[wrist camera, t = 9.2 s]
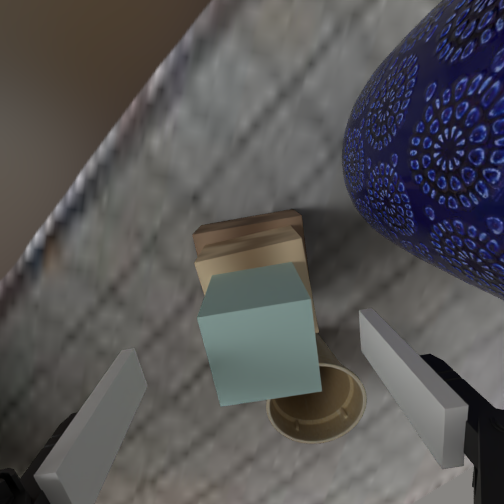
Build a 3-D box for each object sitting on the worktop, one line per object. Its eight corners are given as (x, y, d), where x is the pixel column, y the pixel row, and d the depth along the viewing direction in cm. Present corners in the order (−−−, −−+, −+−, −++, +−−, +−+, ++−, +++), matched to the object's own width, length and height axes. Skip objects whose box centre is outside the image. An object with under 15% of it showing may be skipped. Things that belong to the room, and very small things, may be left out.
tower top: (227, 320, 26) (222, 352, 21) (204, 245, 24) (194, 262, 19) (305, 303, 26) (319, 332, 21) (290, 225, 23) (301, 238, 19)
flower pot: (286, 301, 31) (300, 347, 23) (351, 334, 32) (387, 389, 24) (248, 360, 33) (248, 422, 25) (310, 389, 35) (330, 456, 26)
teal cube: (227, 343, 21) (220, 406, 15) (212, 275, 19) (196, 317, 14) (301, 331, 21) (322, 391, 15) (291, 261, 19) (310, 298, 13)
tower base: (220, 306, 31) (215, 329, 26) (201, 224, 28) (192, 234, 24) (303, 292, 31) (313, 313, 26) (292, 208, 28) (301, 215, 23)
